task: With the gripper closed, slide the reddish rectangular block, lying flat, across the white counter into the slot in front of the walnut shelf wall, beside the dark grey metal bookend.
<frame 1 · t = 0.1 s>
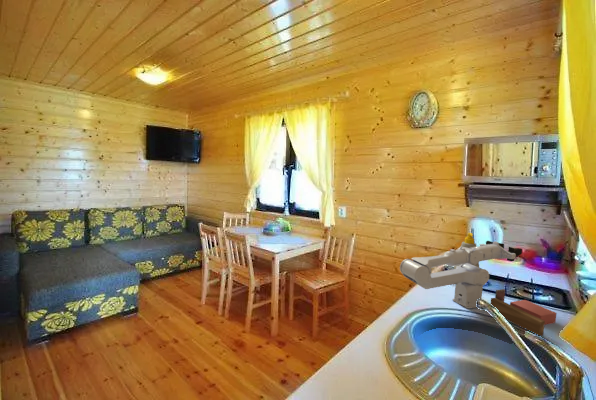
hand: (512, 248, 125), 22 cm above the worktop, tool horizontal, fingers open, 7 cm apart
stick construction toy: (463, 283, 144), on the worktop
bookend: (498, 309, 117), on the worktop
reddish rectangular block: (531, 317, 112), on the worktop
shelf wall: (514, 322, 108), on the worktop
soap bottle: (466, 270, 163), on the worktop
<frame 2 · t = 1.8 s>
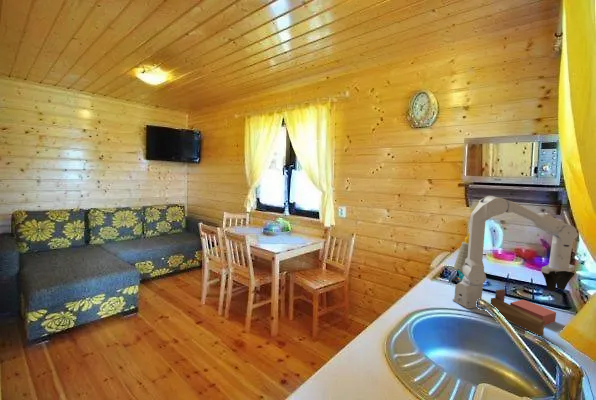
hand: (555, 289, 114), 9 cm above the worktop, tool pointing down, fingers open, 5 cm apart
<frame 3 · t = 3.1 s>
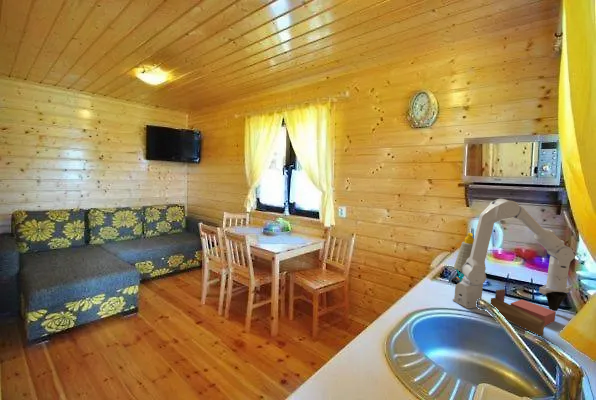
hand: (553, 309, 115), 1 cm above the worktop, tool pointing down, fingers closed
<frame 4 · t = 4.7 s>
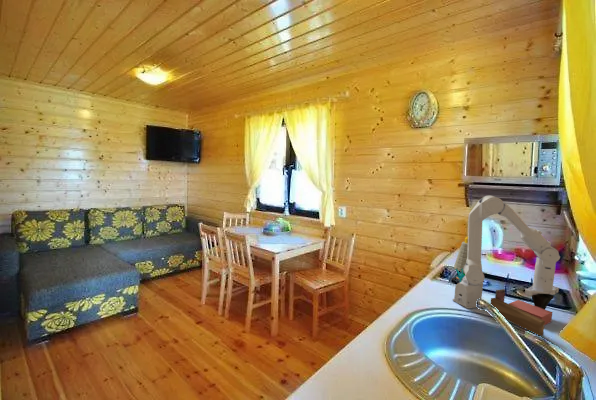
hand: (539, 311, 113), 1 cm above the worktop, tool pointing down, fingers closed
reddish rectangular block: (528, 318, 111), on the worktop
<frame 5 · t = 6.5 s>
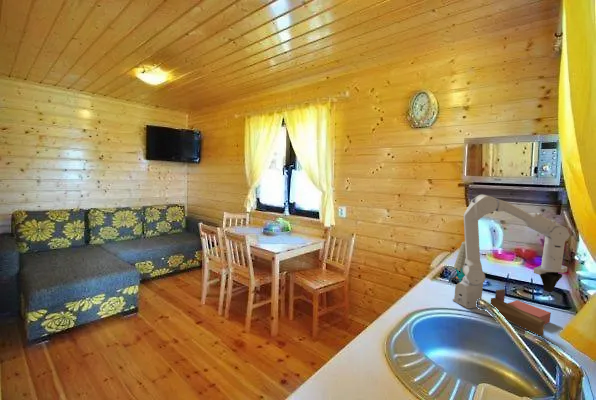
hand: (547, 291, 113), 9 cm above the worktop, tool pointing down, fingers closed
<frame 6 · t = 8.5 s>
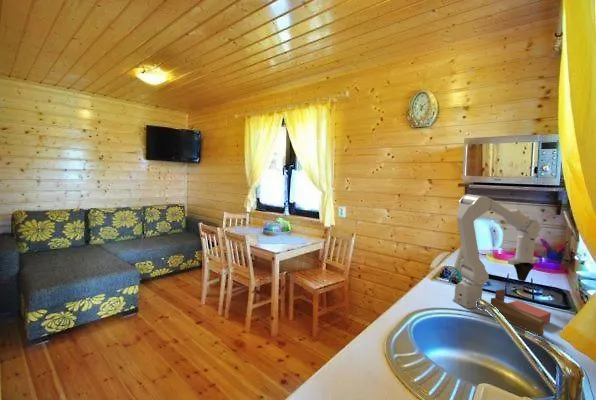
hand: (521, 280, 123), 9 cm above the worktop, tool pointing down, fingers closed
at the end: reddish rectangular block 1.8 cm from the target spot, on the worktop; reddish rectangular block tilted 0°; reddish rectangular block moved 2.7 cm from its start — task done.
